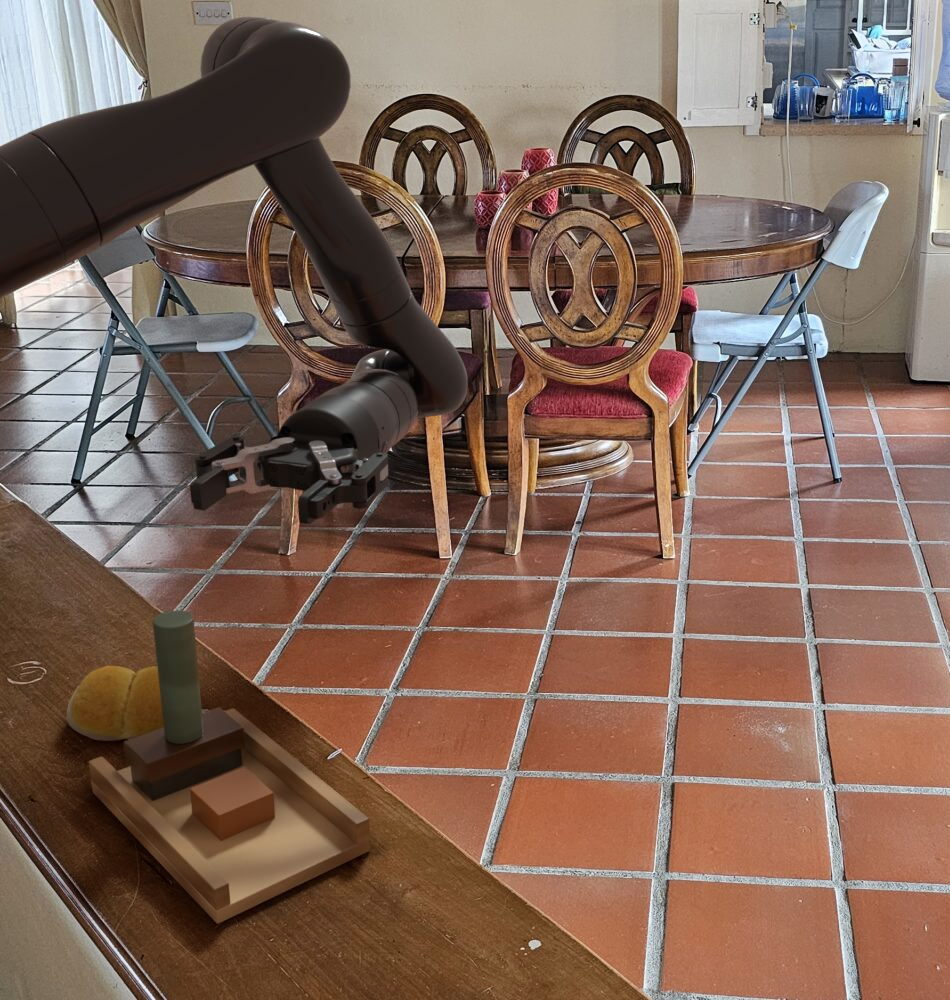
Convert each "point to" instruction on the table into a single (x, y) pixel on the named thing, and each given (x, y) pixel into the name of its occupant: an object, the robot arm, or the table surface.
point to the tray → (254, 852)
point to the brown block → (232, 803)
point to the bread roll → (116, 704)
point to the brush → (182, 720)
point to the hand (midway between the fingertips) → (249, 505)
